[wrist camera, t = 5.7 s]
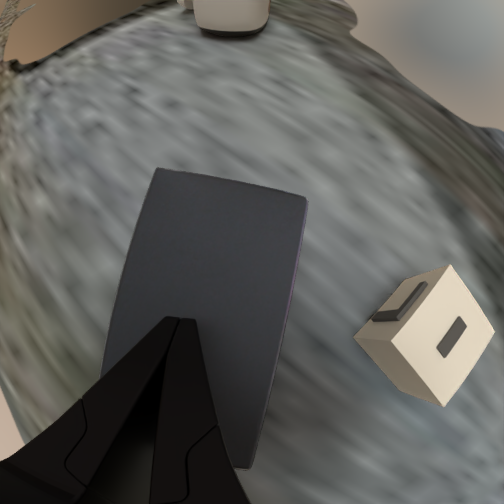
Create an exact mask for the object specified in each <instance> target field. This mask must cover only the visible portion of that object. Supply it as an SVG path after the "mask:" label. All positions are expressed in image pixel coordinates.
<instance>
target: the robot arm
mask: <svg viewBox="0 0 504 504" xmlns="http://www.w3.org/2000/svg"><path fill="white" fill-rule="evenodd" d="M0 504H251V503H250V501H249V499H248V497H247V495H246V493H245V491H244V489H243V487H242V485H241V483H240V481H239V479H238V477H237V474H236V472H235V470H234V467H233V465H232V463H231V460H230V458H229V455H228V452H227V449H226V445H225V442H224V439H223V435H222V431H221V428H220V426H219V420H218V416H217V412H216V408H215V404H214V400H213V396H212V392H211V387H210V383H209V379H208V374H207V370H206V365H205V361H204V356H203V351H202V346H201V341H200V336H199V331H198V326H197V321H196V319H193V318H181V319H180V318H179V317H174V316H165V317H164V318H163V319H162V320H161V321H160V322H158V323H157V324H156V325H155V326H154V327H153V328H152V329H151V330H150V331H149V332H148V333H147V334H146V335H145V336H144V337H143V338H142V339H141V340H140V341H139V342H138V343H137V344H136V345H134V346H133V347H132V348H131V349H130V350H129V351H128V352H127V353H126V354H125V355H124V356H123V357H122V358H121V359H120V360H119V361H118V362H117V363H116V364H115V365H114V366H113V367H112V368H111V369H110V370H109V371H108V372H107V373H106V374H104V375H103V376H102V377H101V378H100V379H99V380H98V381H97V382H96V383H95V384H94V385H93V386H92V387H91V388H90V389H89V390H88V391H87V392H86V393H85V394H84V395H83V396H82V399H81V398H80V399H79V400H78V401H77V402H76V403H75V404H74V405H73V406H72V407H71V408H70V409H68V410H67V411H66V412H65V413H64V414H63V415H62V416H61V417H60V418H59V419H58V420H56V421H55V422H54V423H53V424H52V425H50V426H49V427H48V428H47V429H45V430H44V431H43V432H42V433H40V434H39V435H38V436H37V437H35V438H34V439H33V440H31V441H30V442H29V443H27V444H26V445H25V446H24V447H22V448H21V449H20V450H18V451H17V452H16V453H14V454H13V455H12V456H10V457H9V458H7V459H4V460H2V461H0Z"/></svg>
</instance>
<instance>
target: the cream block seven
mask: <svg viewBox="0 0 504 504" xmlns="http://www.w3.org/2000/svg"><path fill="white" fill-rule="evenodd" d="M494 332H495V331H494V329H493V328H492V326H491V324H490V323H489V321H488V319H487V318H486V316H485V315H484V313H483V311H482V310H481V308H480V307H479V305H478V304H477V302H476V301H475V299H474V298H473V296H472V295H471V293H470V292H469V290H468V289H467V287H466V286H465V284H464V283H463V281H462V280H461V279H460V277H459V276H458V274H457V273H456V272H455V270H454V269H453V267H452V266H451V265H447V266H444V267H441V268H438V269H435V270H432V271H429V272H426V273H423V274H420V275H417V276H414V277H411V278H408V279H405V280H404V281H403V282H402V283H401V285H400V286H399V287H398V288H397V289H396V290H395V292H394V293H393V294H392V295H391V296H390V297H389V299H388V300H387V301H386V302H385V303H384V304H383V305H382V306H381V308H380V309H379V310H378V311H377V312H376V313H375V314H374V315H373V316H372V317H371V319H370V320H369V321H368V322H367V323H366V324H365V325H364V326H363V327H362V328H361V329H360V330H359V331H358V332H357V333H356V334H355V335H354V336H353V338H354V339H355V340H356V341H357V343H358V344H359V345H360V346H361V347H362V348H363V349H364V351H365V352H366V353H367V354H368V355H369V356H370V357H371V359H372V360H373V361H374V362H375V363H376V364H377V365H378V367H379V368H380V369H381V370H382V371H383V372H384V373H385V375H386V376H387V377H388V378H389V379H390V380H391V382H392V383H393V384H394V385H395V386H396V387H397V388H398V390H399V391H402V392H404V393H407V394H409V395H412V396H415V397H417V398H420V399H423V400H426V401H428V402H431V403H434V404H437V405H439V406H442V407H444V406H445V405H446V404H447V403H448V401H449V400H450V399H451V397H452V396H453V395H454V393H455V392H456V391H457V389H458V388H459V387H460V385H461V384H462V383H463V381H464V380H465V378H466V377H467V375H468V374H469V373H470V371H471V370H472V368H473V367H474V365H475V364H476V362H477V361H478V359H479V357H480V356H481V354H482V353H483V351H484V349H485V348H486V346H487V344H488V343H489V341H490V339H491V338H492V336H493V334H494Z"/></svg>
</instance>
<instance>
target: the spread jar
mask: <svg viewBox="0 0 504 504" xmlns="http://www.w3.org/2000/svg"><path fill="white" fill-rule="evenodd" d="M270 1H271V0H177V2H178V3H179V4H180V5H182V6H183V7H185V8H187V9H194V15H195V19H196V23H197V25H198V26H199V27H200V28H201V29H202V30H204V31H206V32H209V33H212V34H216V35H220V36H227V37H239V36H246V35H250V34H254V33H257V32H259V31H260V30H262V29H263V28H264V26H265V25H266V23H267V20H268V16H269V10H270Z"/></svg>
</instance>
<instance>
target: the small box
mask: <svg viewBox="0 0 504 504" xmlns="http://www.w3.org/2000/svg"><path fill="white" fill-rule="evenodd" d="M308 202H309V201H308V199H307V198H306V197H304V196H301V195H297V194H294V193H290V192H287V191H283V190H278V189H274V188H269V187H265V186H260V185H255V184H250V183H246V182H241V181H237V180H231V179H224V178H219V177H214V176H209V175H204V174H198V173H192V172H186V171H179V170H173V169H165V168H159V167H158V168H156V169H155V172H154V174H153V177H152V180H151V182H150V185H149V188H148V191H147V193H146V196H145V199H144V202H143V204H142V207H141V210H140V213H139V216H138V219H137V222H136V225H135V229H134V232H133V235H132V238H131V241H130V245H129V248H128V251H127V255H126V258H125V262H124V265H123V269H122V272H121V276H120V280H119V284H118V287H117V292H116V296H115V300H114V304H113V308H112V313H111V317H110V322H109V327H108V332H107V336H106V341H105V346H104V352H103V358H102V363H101V369H100V375H99V379H100V378H101V377H102V376H103V375H104V374H106V373H107V372H108V371H109V370H110V369H111V368H112V367H113V366H114V365H115V364H116V363H117V362H118V361H119V360H120V359H121V358H122V357H123V356H124V355H125V354H126V353H127V352H128V351H129V350H130V349H131V348H132V347H133V346H134V345H136V344H137V343H138V342H139V341H140V340H141V339H142V338H143V337H144V336H145V335H146V334H147V333H148V332H149V331H150V330H151V329H152V328H153V327H154V326H155V325H156V324H157V323H158V322H160V321H161V320H162V319H163V318H164V317H165V316H174V317H179V318H180V319H181V318H193V319H196V321H197V326H198V331H199V336H200V341H201V346H202V351H203V356H204V361H205V365H206V370H207V374H208V379H209V383H210V387H211V392H212V396H213V400H214V404H215V408H216V412H217V416H218V420H219V426H220V428H221V431H222V435H223V439H224V442H225V445H226V449H227V452H228V455H229V458H230V460H231V463H232V465H233V467H234V469H239V470H245V471H246V470H250V468H251V466H252V464H253V461H254V457H255V453H256V449H257V445H258V441H259V437H260V434H261V430H262V426H263V422H264V418H265V414H266V410H267V406H268V402H269V398H270V393H271V389H272V385H273V380H274V376H275V372H276V367H277V363H278V358H279V354H280V349H281V345H282V340H283V336H284V331H285V326H286V321H287V317H288V312H289V307H290V302H291V297H292V292H293V287H294V282H295V277H296V271H297V266H298V261H299V256H300V250H301V245H302V239H303V233H304V228H305V222H306V216H307V210H308Z"/></svg>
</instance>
